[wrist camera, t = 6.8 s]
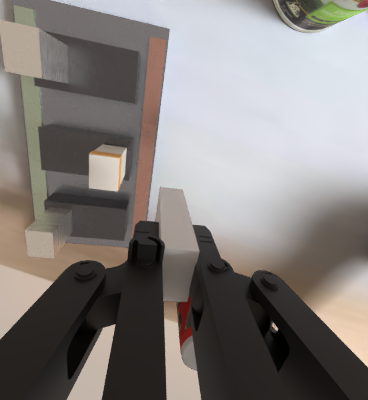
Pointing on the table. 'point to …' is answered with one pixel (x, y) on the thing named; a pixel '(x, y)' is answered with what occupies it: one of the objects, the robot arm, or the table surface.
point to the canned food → (186, 335)
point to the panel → (84, 117)
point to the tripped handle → (107, 167)
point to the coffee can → (317, 12)
